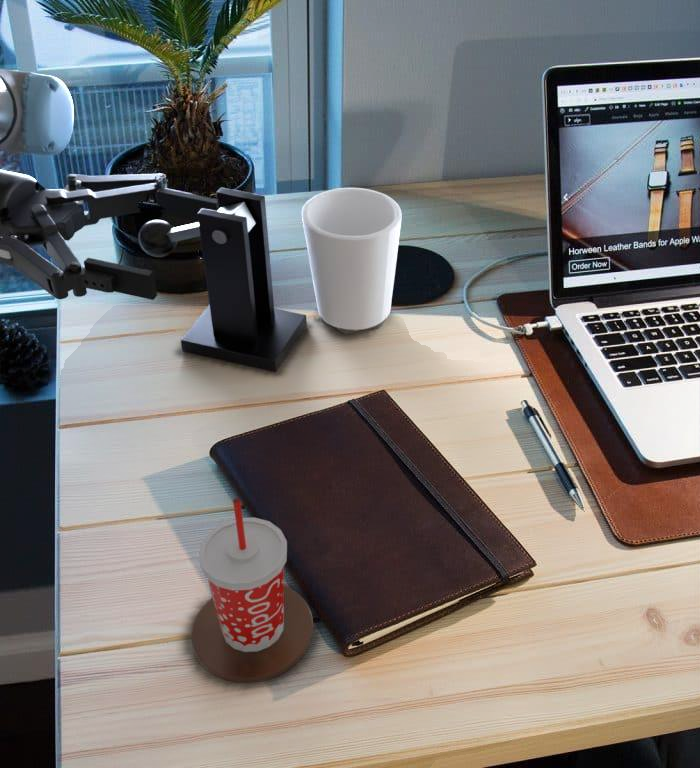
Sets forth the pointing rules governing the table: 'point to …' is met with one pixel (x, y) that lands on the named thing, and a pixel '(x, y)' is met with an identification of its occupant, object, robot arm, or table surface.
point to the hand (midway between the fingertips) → (188, 247)
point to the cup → (352, 255)
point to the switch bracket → (240, 291)
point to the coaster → (260, 663)
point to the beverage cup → (246, 579)
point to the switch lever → (180, 231)
